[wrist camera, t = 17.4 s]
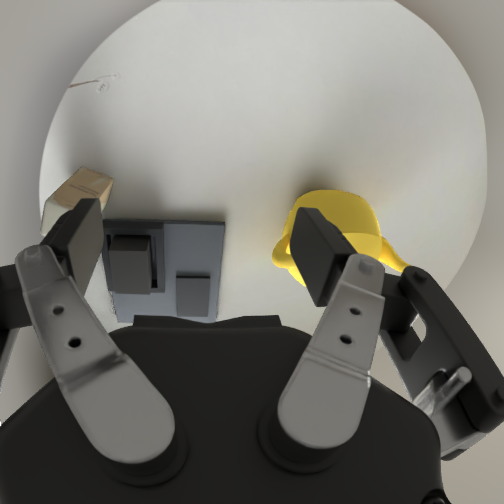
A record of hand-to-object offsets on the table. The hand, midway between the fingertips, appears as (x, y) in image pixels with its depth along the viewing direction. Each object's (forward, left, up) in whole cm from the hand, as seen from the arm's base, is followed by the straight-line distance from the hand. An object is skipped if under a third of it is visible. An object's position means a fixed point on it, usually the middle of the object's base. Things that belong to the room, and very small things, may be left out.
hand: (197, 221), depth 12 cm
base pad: (-4, -23, -26) cm, 35 cm away
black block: (-8, -18, -25) cm, 32 cm away
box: (-13, -8, -26) cm, 30 cm away
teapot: (+19, -13, -26) cm, 35 cm away
